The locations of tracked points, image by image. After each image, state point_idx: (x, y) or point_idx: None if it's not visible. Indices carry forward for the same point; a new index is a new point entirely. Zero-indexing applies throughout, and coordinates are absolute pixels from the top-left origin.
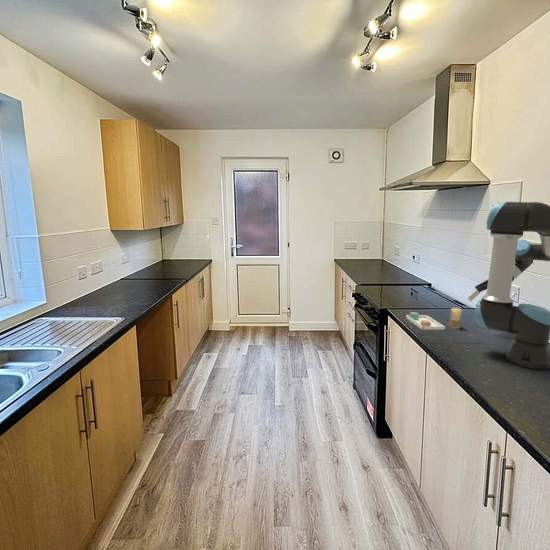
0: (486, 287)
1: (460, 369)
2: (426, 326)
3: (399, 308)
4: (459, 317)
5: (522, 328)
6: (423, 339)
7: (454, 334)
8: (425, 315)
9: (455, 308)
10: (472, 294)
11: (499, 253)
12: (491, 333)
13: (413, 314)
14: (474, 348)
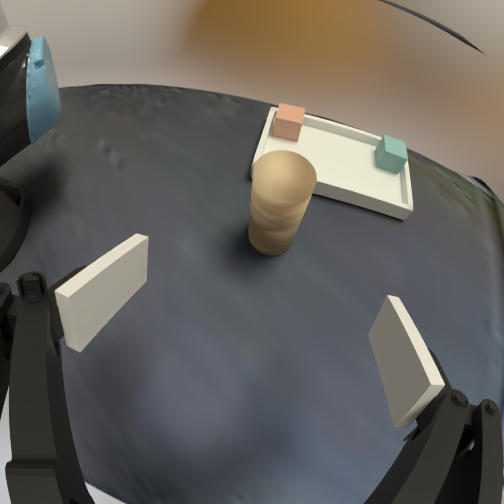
0: (378, 499)
1: (70, 93)
2: (272, 117)
3: (499, 228)
4: (251, 200)
5: None
6: (210, 95)
7: (216, 192)
8: (408, 202)
9: (292, 171)
10: (402, 334)
11: None
12: (176, 364)
13: (383, 137)
14: (97, 166)
